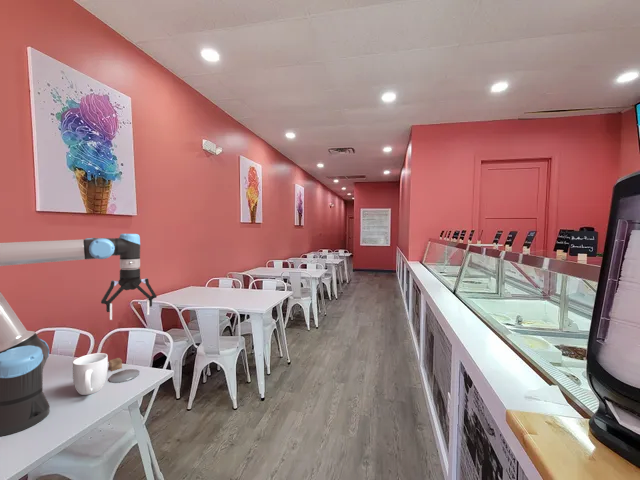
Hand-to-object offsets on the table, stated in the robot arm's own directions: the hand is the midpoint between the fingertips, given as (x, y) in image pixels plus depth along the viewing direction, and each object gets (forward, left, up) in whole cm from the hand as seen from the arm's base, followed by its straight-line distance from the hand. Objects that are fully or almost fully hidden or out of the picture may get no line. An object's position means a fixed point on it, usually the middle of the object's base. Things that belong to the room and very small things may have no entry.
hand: (130, 316), depth 125 cm
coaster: (-2, +1, -27) cm, 27 cm away
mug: (-14, -6, -27) cm, 31 cm away
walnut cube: (-5, +13, -27) cm, 30 cm away
